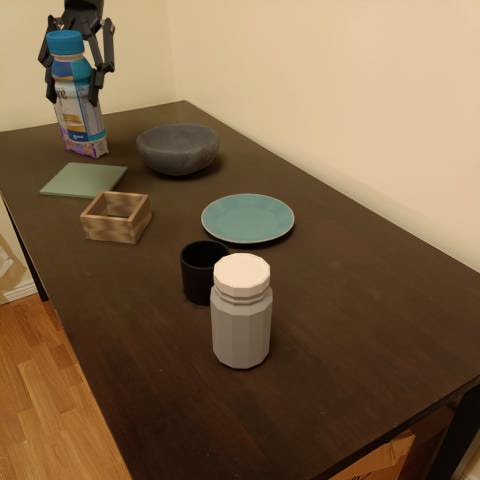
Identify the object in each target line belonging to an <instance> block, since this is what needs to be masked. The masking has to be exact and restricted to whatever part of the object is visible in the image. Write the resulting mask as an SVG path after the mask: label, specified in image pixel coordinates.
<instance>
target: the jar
mask: <svg viewBox="0 0 480 480" xmlns="http://www.w3.org/2000/svg"><path fill="white" fill-rule="evenodd" d="M270 280H271V265H270V264H269V263H267V261H265V259H264V258H263V257H260V256H258V255H255V254H252V253H247V252H246V253H243V252H242V253H240V252H239V253H238V252H236V253H232V254H230V255H228V256H225V257H223V258H221V259H220V260H219V261H218V262H217V263H216V264H215V266H214V283H215V285H214V286H213V287H212V289H211V297H210V302H211V305H210V318H211V320H210V321H211V334H212V336H211V337H212V351H213V353H214V355H215V357H216V358H217V359H218V361H219V362H220V363H222V364H224V365H225V366H228V367H230V368H232V369H244V370H245V369H249V368H252V367H254V366H257V365H259V364H262V362H263V361H264V360H265V359H266V357H267V355H268V354H269V352H270V340H271V327H272V314H273V301H274V299H273V295H274V294H273V288H272V287H271V286H270Z"/></svg>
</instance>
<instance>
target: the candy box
mask: <svg viewBox="0 0 480 480" xmlns="http://www.w3.org/2000/svg"><path fill="white" fill-rule="evenodd" d="M52 106H53V110H54V114H55V117H56V120H57V124H58V127H59V130H60V133H61V136H62V140H63V144H64V147H65V150H68V151H70V152H73V153H76V154H80V155H83V156H86V157H89V158H92V159H96V160H97V159H99V158H101V157H103V156H105V155H107V154H109V153H110V151H109V146H108V142H107V136H106V137H105V139H103V140H102V141H100V142H97V143H94V144H76V143H74V142H72V141H71V140H70V139H69V136H68V131H67V128H66V124H65V120H64V117H63V113H62V110H61V106H60V102H59V99H58V95H57V102H56V104H53V103H52Z"/></svg>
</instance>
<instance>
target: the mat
mask: <svg viewBox="0 0 480 480" xmlns="http://www.w3.org/2000/svg"><path fill="white" fill-rule="evenodd" d="M127 171H129V167H128V166H122V165H121V166H119V165H109V164H107V165H106V164H96V163H95V164H94V163H82V162H69V161H68V163H67V164H66V165H65V166H64V167H62V169H61V170H60V171H58V173H57V174H56V175H54V176H53V177H52V179H50V181H49V182H47V183H46V184H45V185H44V186H43V187H42V188H41V189H40V190H39V194H40V195H48V196H58V197H69V198H82V199H92V200H94V199H95V197H96V196H97V195H98V194H99V193H100V191H111V192H112V191H113V189H115V187H116V185H118V183H119V182H120V181H121V180H122V178H123V177H124V175H125V174H126V173H127Z"/></svg>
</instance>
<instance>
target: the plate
mask: <svg viewBox="0 0 480 480" xmlns="http://www.w3.org/2000/svg"><path fill="white" fill-rule="evenodd" d="M200 219H201V220H200V221H201V224H202V227H203V228H204V229H205V231H207V232H208V233H209V235H212V236H213V237H214V238H216V239H219V240H221V241H225V242H227V243H233V244H245V245H247V244H248V245H249V244H259V243H264V242H269V241H272V240H276V239H278V238H281V237H282V236H284V235H286V234H287V233H288V232H289V231H290V230H291V229H292V227H293V226H294V223H295V214H294V211H293V209H292V208H291V207H290V206H289V205H287V204H286V203H285V202H283V201H282V200H279V199H277V198H275V197H272V196H269V195H264V194H260V193H236V194H231V195H227V196H223V197H220V198H219V199H216V200H214V201H212V202H211V203H209V204H208V205H207V206H206V207H205V208H204V210H203V211H202V213H201V216H200Z"/></svg>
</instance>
